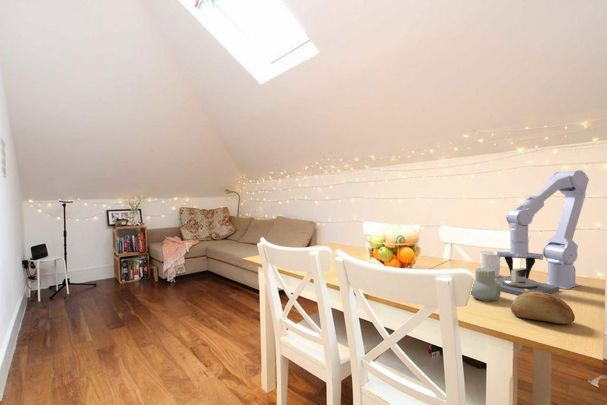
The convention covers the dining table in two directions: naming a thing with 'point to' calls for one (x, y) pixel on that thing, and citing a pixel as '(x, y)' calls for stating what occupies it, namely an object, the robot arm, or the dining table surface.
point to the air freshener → (485, 285)
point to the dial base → (518, 291)
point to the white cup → (490, 261)
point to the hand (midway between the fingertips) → (519, 277)
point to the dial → (519, 279)
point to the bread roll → (542, 308)
